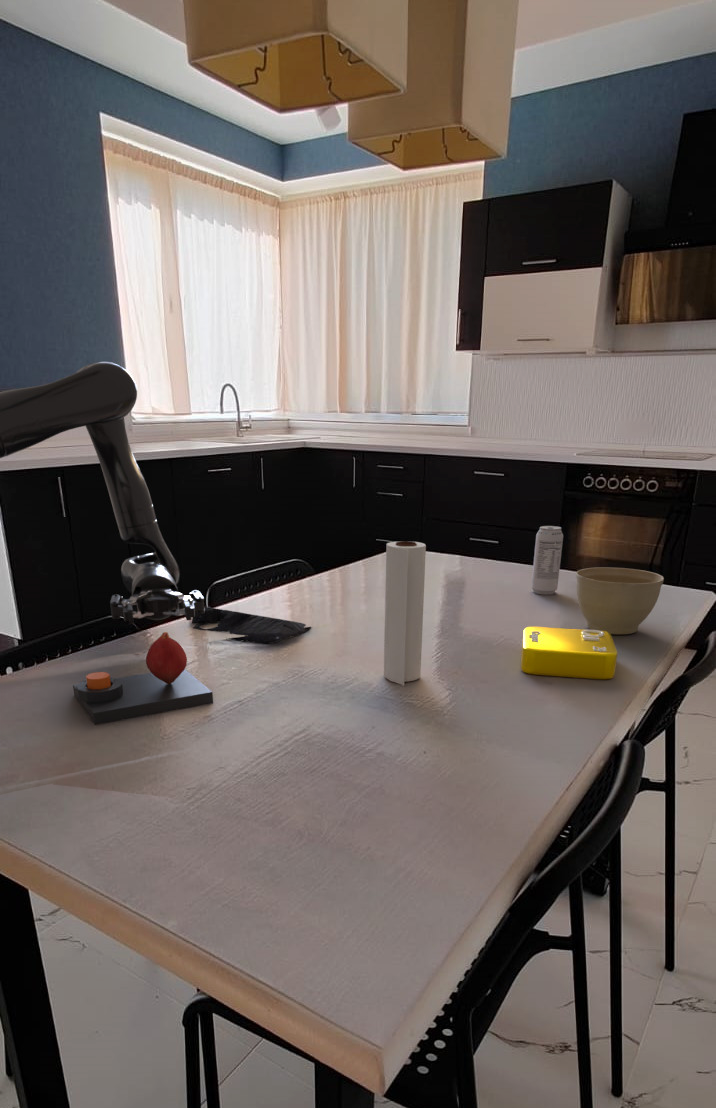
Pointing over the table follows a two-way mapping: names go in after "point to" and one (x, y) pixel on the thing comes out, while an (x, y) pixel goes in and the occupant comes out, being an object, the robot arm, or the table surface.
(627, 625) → the planter bowl
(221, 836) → the table surface
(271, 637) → the dark slate chunk
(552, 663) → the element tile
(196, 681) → the scale
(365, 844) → the table surface
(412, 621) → the paper towel roll
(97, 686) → the button
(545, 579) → the energy drink can
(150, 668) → the onion
